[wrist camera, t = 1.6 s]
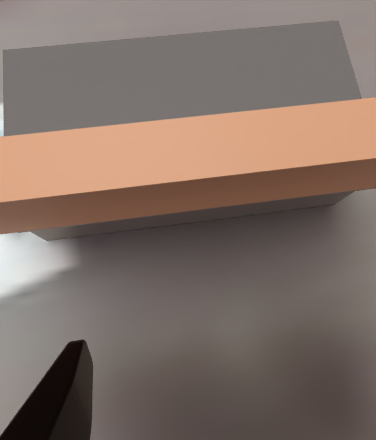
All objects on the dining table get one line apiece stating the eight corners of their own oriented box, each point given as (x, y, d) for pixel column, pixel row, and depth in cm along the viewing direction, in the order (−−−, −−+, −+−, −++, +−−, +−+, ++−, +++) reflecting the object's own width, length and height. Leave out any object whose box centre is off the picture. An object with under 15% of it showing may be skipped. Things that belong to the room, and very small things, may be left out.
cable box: (334, 204, 25) (383, 171, 19) (-98, 259, 23) (-191, 241, 17) (303, 82, 27) (338, 20, 21) (-89, 121, 25) (-168, 65, 19)
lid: (386, 164, 19) (390, 186, 18) (0, 211, 17) (2, 235, 17) (715, 62, 7) (725, 117, 7) (-302, 168, 6) (-295, 237, 6)
